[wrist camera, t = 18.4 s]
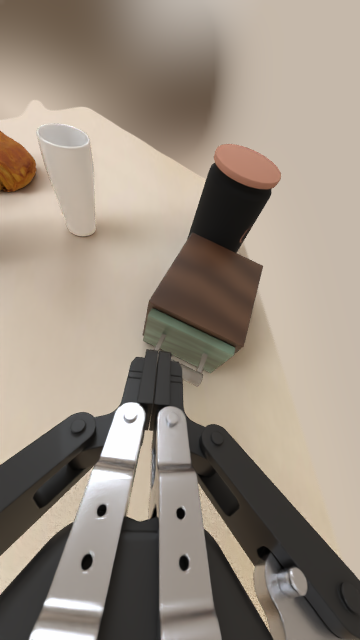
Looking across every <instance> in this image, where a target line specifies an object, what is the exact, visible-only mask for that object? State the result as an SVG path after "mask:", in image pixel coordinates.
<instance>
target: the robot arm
mask: <svg viewBox="0 0 360 640" xmlns="http://www.w3.org/2000/svg"><path fill="white" fill-rule="evenodd" d="M157 359H158V361H157ZM150 416H151V419H150ZM149 422H150V428H149V430H151V431H153V440H152V445H151V476H150V498H149V511H148V520H145V521H141V522H139V521H136V520H134V519H131V518H129V517H127V513H128V508H129V502H130V497H131V492H132V487H133V482H134V477H135V472H136V467H137V463H138V458H139V453H140V448H141V446H142V443H143V438H144V432H145V430H148V427H149ZM93 466H94V468H93V470H92V473H91V475H90V478H89V481H88V484H87V487H86V489H85V492H84V495H83V498H82V500H81V503H80V506H79V509H78V512H77V514H76V517H75V520H74V522H72V523H71V524H69V525H67V526H66V527H64V528H63V529H62V530H60V531H59V532H58V533H57V534H56V535H54V536H53V537H52V538H51V539H50V540H49V541H48V542H47V543H46V544H45V545H44V547H43V548H42V549H41V550H40V551H39V552H38V553H37V554H36V556H35V557H34V558H33V559H32V560H31V561H30V562H29V563H28V564H27V566H26V567H25V568H24V569H23V570H22V571H21V572H20V573H19V575H18V576H17V577H16V578H15V579H14V580H13V581H12V582H11V583H10V585H9V586H8V587H7V588H6V589H5V590H4V591H3V592H2V594H1V595H0V640H360V581H359V579H358V578H357V577H356V576H355V575H354V573H353V572H352V571H351V570H350V569H349V568H348V567H347V566H346V565H345V563H344V562H343V561H342V560H341V559H340V558H339V557H338V555H337V554H336V553H335V552H334V551H333V550H332V549H331V548H330V547H329V545H328V544H327V543H326V542H325V541H324V540H323V539H322V538H321V536H320V535H319V534H318V533H317V532H316V531H315V530H314V529H313V527H312V526H311V525H310V524H309V523H308V522H307V521H306V520H305V518H304V517H303V516H302V515H301V514H300V513H299V512H298V511H297V510H296V508H295V507H294V506H293V505H292V504H291V503H290V502H289V501H288V499H287V498H286V497H285V496H284V495H283V494H282V493H281V492H280V490H279V489H278V488H277V487H276V486H275V485H274V484H273V483H272V481H271V480H270V479H269V478H268V477H267V476H266V475H265V474H264V472H263V471H262V470H261V469H260V468H259V467H258V466H257V465H256V464H255V462H254V461H253V460H252V459H251V458H250V457H249V456H248V455H247V453H246V452H245V451H244V450H243V449H242V448H241V447H240V446H239V444H238V443H237V442H236V441H235V440H234V439H233V438H232V437H231V435H230V434H229V433H228V432H227V431H226V430H225V429H224V428H223V427H221V426H219V425H215V424H211V425H208V426H206V427H204V426H201V425H199V424H197V423H195V422H193V421H191V420H190V419H189V418H188V417H187V415H186V414H185V412H184V407H183V378H182V367H181V365H180V363H179V362H176V361H171V352H166V351H159V355H158V351H157V350H149V349H146V355H145V358H142V357H136V358H135V359H134V360H133V361H132V362H131V365H130V369H129V373H128V378H127V381H126V385H125V389H124V393H123V397H122V401H121V404H120V405H119V407H118V408H117V409H116V410H115V411H113V412H112V413H110V414H107V415H103V416H99V417H93V416H92V415H91V414H89V413H86V412H80V413H76V414H73V415H71V416H70V417H68V418H67V419H65V420H64V421H62V422H61V423H60V424H58V425H57V426H55V427H54V428H52V429H51V430H50V431H48V432H47V433H45V434H44V435H42V436H41V437H40V438H38V439H37V440H35V441H34V442H33V443H31V444H30V445H28V446H27V447H25V448H24V449H23V450H21V451H20V452H18V453H17V454H15V455H14V456H13V457H11V458H10V459H8V460H7V461H5V462H4V463H3V464H1V465H0V556H1V555H2V554H3V553H4V552H5V551H6V550H7V549H8V548H9V547H10V546H11V545H12V544H13V543H14V542H15V541H16V540H17V539H18V538H19V537H20V536H21V535H23V534H24V533H25V532H26V531H27V530H28V529H29V528H30V527H31V526H32V525H33V524H34V523H35V522H36V521H37V520H38V519H39V518H40V517H41V516H42V515H43V514H44V513H45V512H46V511H47V510H49V509H50V508H51V507H52V506H53V505H54V504H55V503H56V502H57V501H58V500H59V499H60V498H61V497H62V496H63V495H64V494H65V493H66V492H67V491H68V490H69V489H70V488H71V487H72V486H74V485H75V484H76V483H77V482H78V481H79V480H80V479H81V478H82V477H83V476H84V475H85V474H86V473H87V472H88V471H89V470H90V469H91V468H92V467H93ZM198 483H199V485H200V486H201V488H202V489H203V491H204V492H205V494H206V495H207V497H208V498H209V500H210V501H211V503H212V504H213V506H214V507H215V509H216V510H217V511H218V513H219V514H220V516H221V517H222V519H223V520H224V522H225V523H226V525H227V526H228V528H229V529H230V531H231V532H232V534H233V535H234V537H235V538H236V540H237V541H238V542H239V544H240V545H241V547H242V548H243V550H244V551H245V553H246V554H247V556H248V557H249V559H250V560H251V562H252V563H253V565H254V566H255V568H254V574H253V580H254V588H255V592H256V595H257V598H258V600H259V602H260V604H261V606H262V608H263V610H264V612H265V615H266V617H267V621H268V624H269V629H270V632H269V630H268V629H267V627H266V625H265V624H264V622H263V620H262V618H261V617H260V615H259V613H258V612H257V610H256V608H255V607H254V605H253V603H252V601H251V600H250V598H249V596H248V595H247V593H246V591H245V590H244V588H243V586H242V584H241V583H240V581H239V579H238V578H237V576H236V574H235V572H234V571H233V569H232V567H231V566H230V564H229V562H228V561H227V559H226V557H225V555H224V554H223V552H222V550H221V549H220V547H219V545H218V544H217V542H216V541H215V540H214V538H213V537H212V536H211V535H210V534H209V533H208V532H207V531H206V530H205V529H204V527H203V519H202V512H201V504H200V496H199V488H198Z"/></svg>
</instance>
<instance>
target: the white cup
mask: <svg viewBox="0 0 360 640" xmlns="http://www.w3.org/2000/svg"><path fill="white" fill-rule="evenodd" d="M36 133H37V137H38V142H39V146H40V150H41V154H42V157H43V160H44V164H45V167H46V170H47V173H48V175H49V178H50V181H51V183H52V186H53V189H54V191H55V194H56V197H57V200H58V202H59V205H60V208H61V210H62V213H63V216H64V219H65V222H66V226H67V228H68V230H69V231H70V232H71V233H73V234H74V235H77V236H89V235H91V234H93V233H94V232H95V230H96V219H95V189H94V166H93V157H92V150H91V144H90V138H89V137H88V135H87V134H86V133H85V132H83V131H82V130H80V129H78V128H75V127H73V126H69V125H65V124H55V123H53V124H45V125H42V126H40V127H39V128H38V129H37V131H36Z"/></svg>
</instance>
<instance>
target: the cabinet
mask: <svg viewBox="0 0 360 640" xmlns="http://www.w3.org/2000/svg"><path fill="white" fill-rule="evenodd" d="M262 268H263V266H262V265H260V264H257V263H256V262H254V261H251V260H249V259H247V258H245V257H243V256H241V255H239V254H237V253H235V252H233V251H230V250H228V249H226V248H224V247H222V246H220V245H218V244H216V243H214V242H212V241H209V240H207V239H205V238H203V237H201V236H199V235H197V234H195V233H191V235H190V237H189V238H188V240H187V241H186V243H185V245H184V246H183V248H182V249H181V251H180V253H179V254H178V256H177V257H176V259H175V260H174V262H173V264H172V265H171V267H170V268H169V270H168V272H167V273H166V275H165V276H164V278H163V280H162V281H161V283H160V284H159V286H158V288H157V289H156V291H155V292H154V294H153V296H152V297H151V299H150V300H149V304H148V309H147V315H146V320H145V326H144V331H143V336H144V333H145V328H146V323H147V318H148V314H149V312H150V311H151V309H152V308H154V309H156V310H158V311H162V312H164V313H166V314H168V315H171V316H173V317H175V318H177V319H179V320H181V321H183V322H185V323H187V324H189V325H192V326H194V327H196V328H198V329H200V330H202V331H204V332H206V333H208V334H210V335H212V336H215V337H217V338H219V339H221V340H223V341H225V342H226V343H227V344H229V345H231V346H233V347H235V351H234V354H235V353H236V352H237V351H239V350H240V349H241V348H242V347H243V346H244V342H245V338H246V334H247V330H248V326H249V322H250V318H251V314H252V309H253V305H254V301H255V297H256V293H257V289H258V285H259V281H260V276H261V272H262Z"/></svg>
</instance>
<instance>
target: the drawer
mask: <svg viewBox="0 0 360 640" xmlns="http://www.w3.org/2000/svg"><path fill="white" fill-rule="evenodd" d="M143 341H145V342H147V343H149V344H151V345H153V346H155V348H154V350H157V351H159V349H161V350H164V351H166V352H171V354H172V355H174V356H176V357H178V358H180V359H182V360H184V361H186V362H189V363H191V364H193V365H195V366H197V367H198V368H197V371H195V370H193V369H191V368H188V367H186V366H184V365H182V364H180V365H181V367H182V378H183V380H185V381H187V382H189V383H191V384H193V385H195V386H199V385H200V383H201V381H202V378H203V374H201V373H202V370H205V371H207V372H209V373H211V372H213V371H214V370H215V369H217V368H218V367H219V366H220V365H222V364H223V363H224V362H226V361H227V360H228V359H230V358H231V357H232V356H233V355H234V351H235V347H233V346H231V345H229V344H227V343H226V342H225V341H223V340H221V339H219V338H217V337H215V336H212V335H210V334H208V333H206V332H204V331H202V330H200V329H198V328H196V327H194V326H192V325H189V324H187V323H185V322H183V321H181V320H179V319H177V318H175V317H173V316H171V315H168V314H166V313H164V312H162V311H158V310H156V309H154V308H152V309H151V311H150V312H149V314H148V318H147V323H146V328H145V333H144V339H143ZM158 355H159V353H158ZM157 361H158V359H157ZM171 361H174V360H172V359H171Z"/></svg>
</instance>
